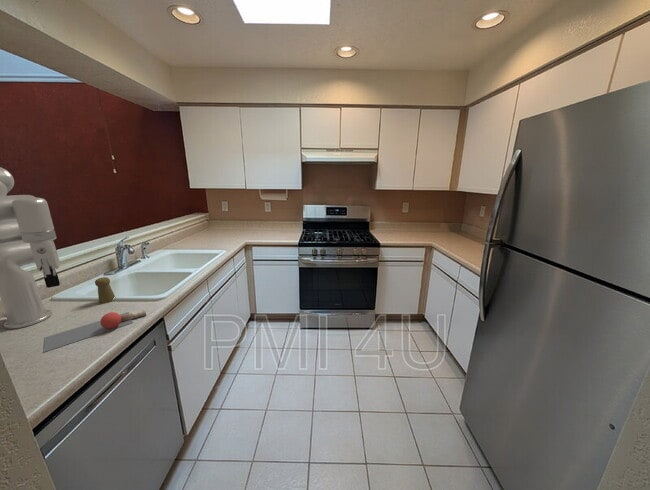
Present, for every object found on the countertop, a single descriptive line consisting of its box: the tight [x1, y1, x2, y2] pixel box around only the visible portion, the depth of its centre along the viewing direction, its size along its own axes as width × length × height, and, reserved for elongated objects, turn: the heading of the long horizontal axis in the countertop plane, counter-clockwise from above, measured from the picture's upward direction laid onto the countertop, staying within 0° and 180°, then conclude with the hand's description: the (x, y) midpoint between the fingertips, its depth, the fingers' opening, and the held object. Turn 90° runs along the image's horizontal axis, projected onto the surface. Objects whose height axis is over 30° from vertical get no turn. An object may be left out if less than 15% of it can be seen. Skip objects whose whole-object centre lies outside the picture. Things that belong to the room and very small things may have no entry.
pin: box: [121, 309, 147, 322], centre depth 102 cm, size 2×2×8 cm
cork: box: [94, 276, 116, 305], centre depth 115 cm, size 6×6×11 cm
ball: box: [99, 311, 121, 329], centre depth 95 cm, size 6×6×6 cm
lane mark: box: [43, 311, 134, 353], centre depth 95 cm, size 24×11×1 cm, turn 135°
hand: (53, 285), depth 89 cm, fingers closed
